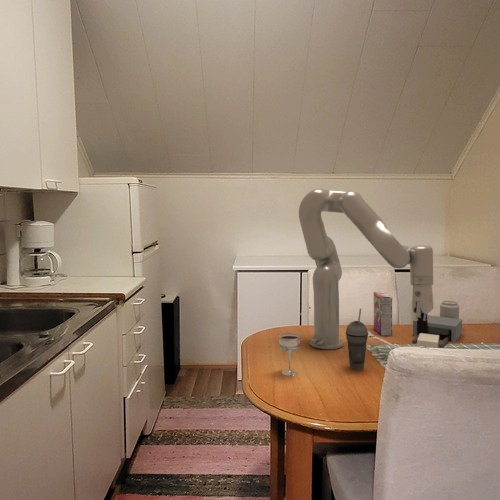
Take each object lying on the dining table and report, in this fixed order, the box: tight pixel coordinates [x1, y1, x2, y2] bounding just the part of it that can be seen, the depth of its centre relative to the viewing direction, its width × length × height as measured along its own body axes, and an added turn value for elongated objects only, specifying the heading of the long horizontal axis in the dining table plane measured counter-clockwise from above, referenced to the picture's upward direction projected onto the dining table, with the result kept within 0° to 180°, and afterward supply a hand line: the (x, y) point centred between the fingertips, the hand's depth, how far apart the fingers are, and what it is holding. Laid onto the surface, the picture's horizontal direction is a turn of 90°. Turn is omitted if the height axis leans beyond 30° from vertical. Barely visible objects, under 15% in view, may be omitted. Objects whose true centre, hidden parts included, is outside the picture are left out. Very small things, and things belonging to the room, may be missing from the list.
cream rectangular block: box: [416, 333, 440, 348], centre depth 160 cm, size 10×7×3 cm
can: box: [439, 300, 460, 319], centre depth 179 cm, size 8×8×12 cm
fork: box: [368, 331, 398, 349], centre depth 165 cm, size 3×20×2 cm, turn 22°
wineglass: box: [278, 332, 301, 377], centre depth 134 cm, size 7×7×12 cm
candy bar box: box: [373, 291, 393, 337], centre depth 176 cm, size 11×5×16 cm, turn 179°
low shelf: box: [411, 314, 463, 348], centre depth 167 cm, size 22×16×6 cm
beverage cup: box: [345, 308, 369, 371], centre depth 137 cm, size 7×7×20 cm
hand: (422, 330), depth 150 cm, fingers closed
